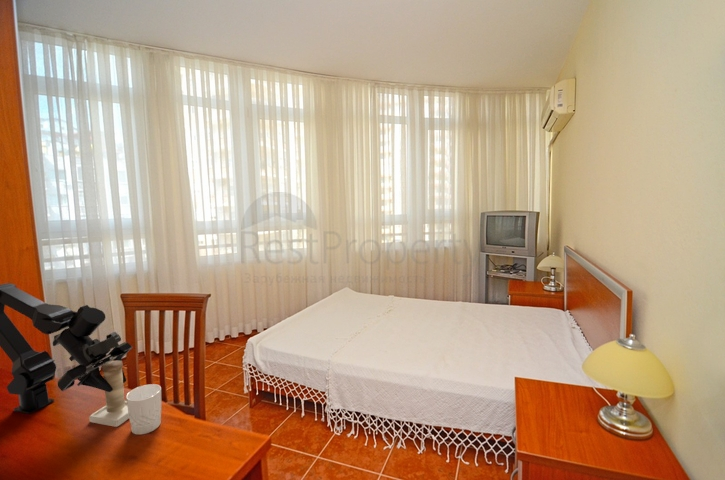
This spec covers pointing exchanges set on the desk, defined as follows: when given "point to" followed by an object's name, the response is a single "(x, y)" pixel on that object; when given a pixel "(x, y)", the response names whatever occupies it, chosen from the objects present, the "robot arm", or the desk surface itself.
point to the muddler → (114, 385)
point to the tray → (110, 416)
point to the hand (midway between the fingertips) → (118, 386)
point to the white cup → (144, 408)
